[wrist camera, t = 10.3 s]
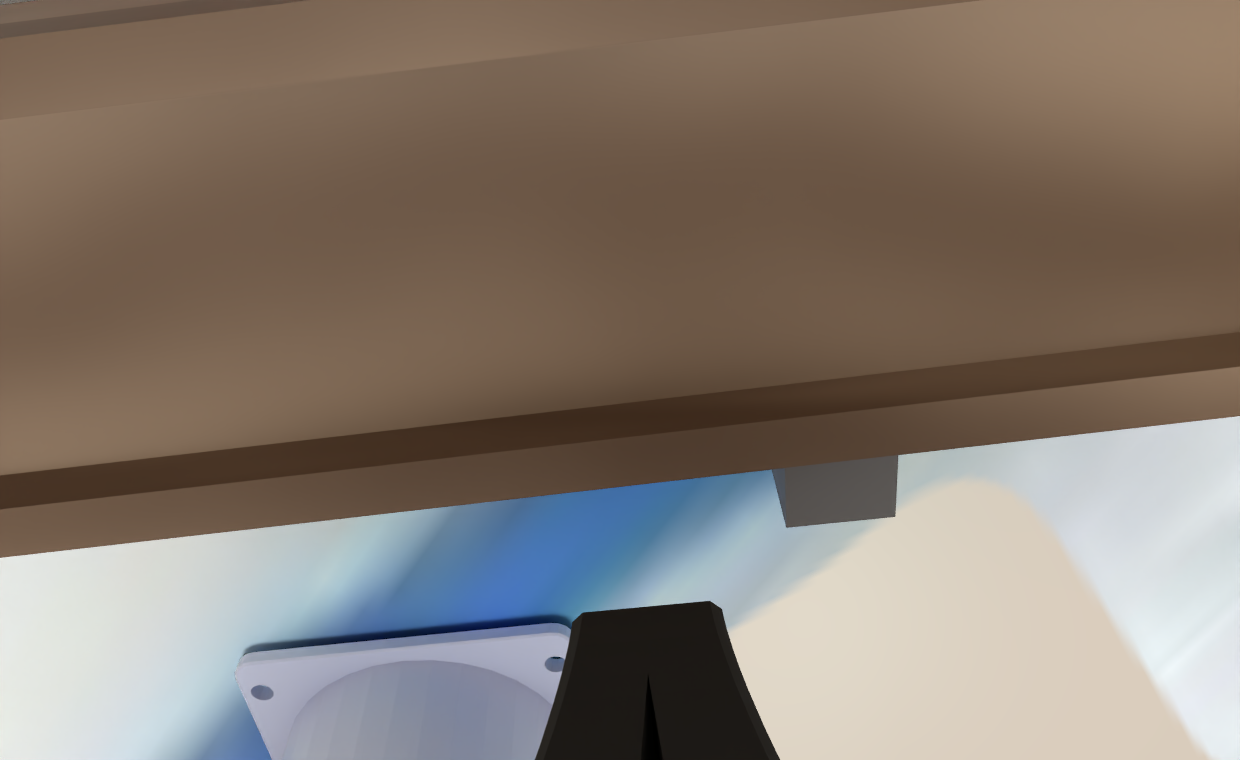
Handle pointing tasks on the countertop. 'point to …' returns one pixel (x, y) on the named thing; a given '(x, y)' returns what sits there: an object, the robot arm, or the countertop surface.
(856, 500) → the stand
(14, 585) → the countertop surface
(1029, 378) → the beam
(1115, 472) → the countertop surface
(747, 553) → the countertop surface
